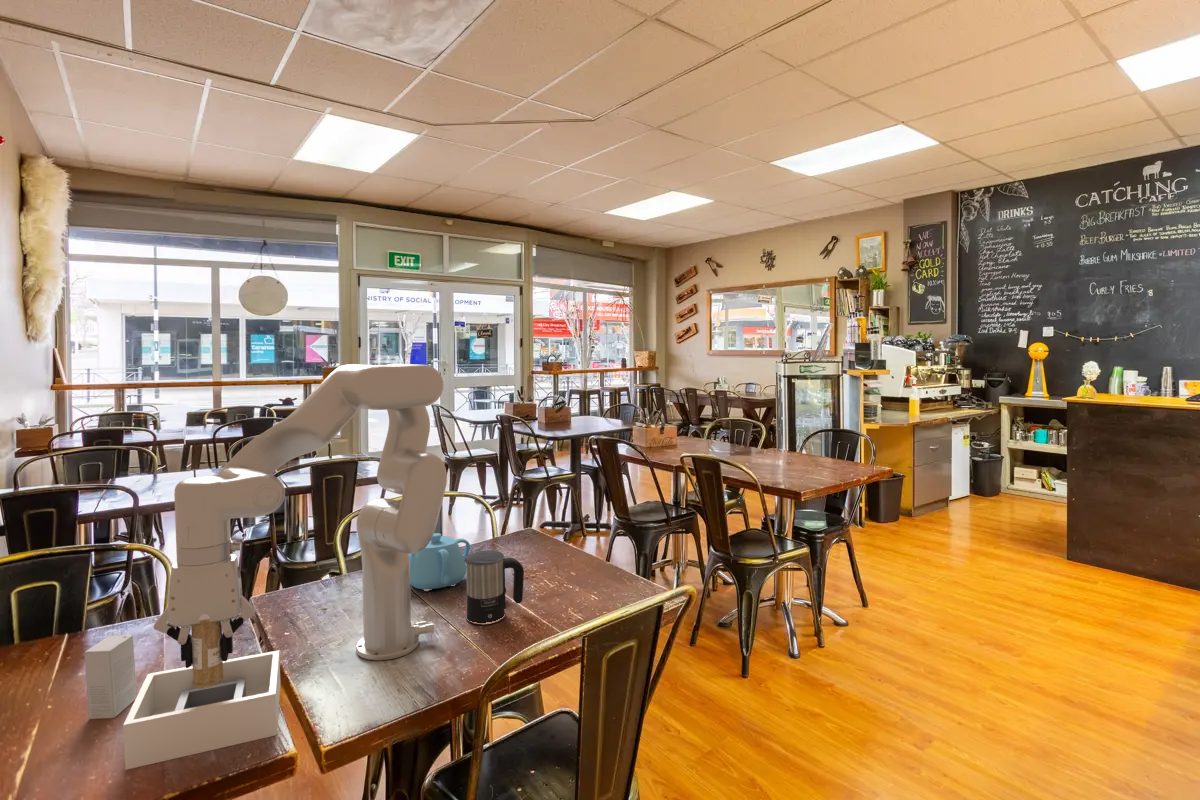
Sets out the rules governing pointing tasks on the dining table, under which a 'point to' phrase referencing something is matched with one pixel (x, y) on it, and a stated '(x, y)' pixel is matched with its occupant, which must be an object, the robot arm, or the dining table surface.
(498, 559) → the milk frother
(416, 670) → the dining table surface
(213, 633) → the sprinkles bottle
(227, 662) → the divided box
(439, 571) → the decorative pot
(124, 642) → the skincare box
